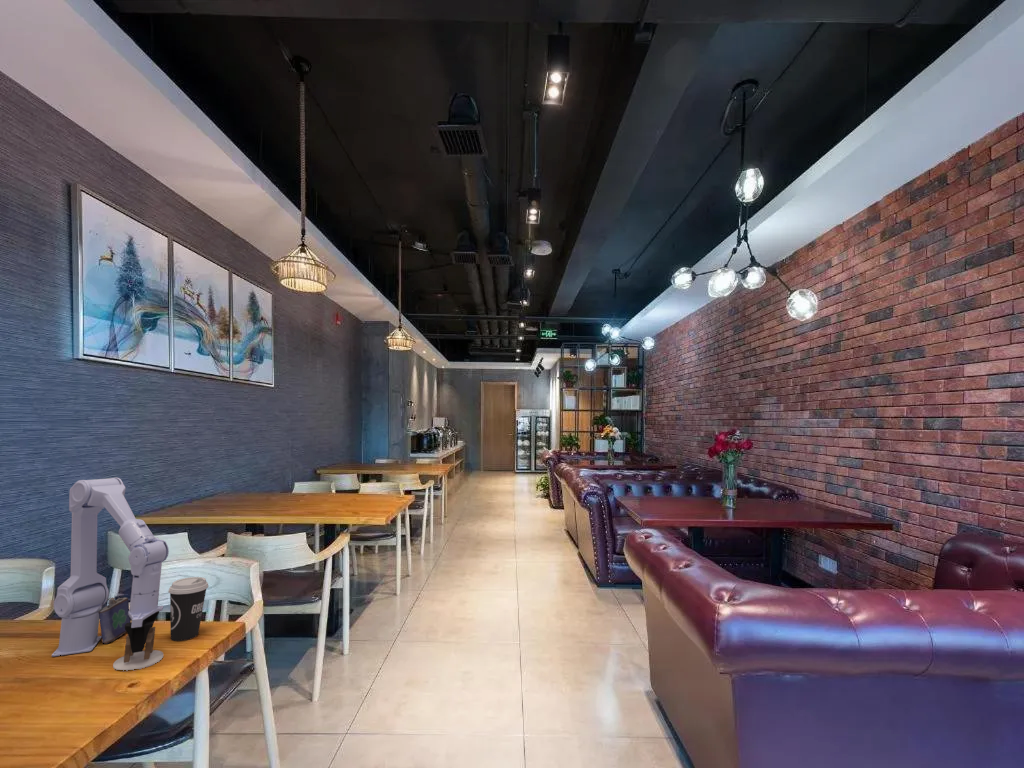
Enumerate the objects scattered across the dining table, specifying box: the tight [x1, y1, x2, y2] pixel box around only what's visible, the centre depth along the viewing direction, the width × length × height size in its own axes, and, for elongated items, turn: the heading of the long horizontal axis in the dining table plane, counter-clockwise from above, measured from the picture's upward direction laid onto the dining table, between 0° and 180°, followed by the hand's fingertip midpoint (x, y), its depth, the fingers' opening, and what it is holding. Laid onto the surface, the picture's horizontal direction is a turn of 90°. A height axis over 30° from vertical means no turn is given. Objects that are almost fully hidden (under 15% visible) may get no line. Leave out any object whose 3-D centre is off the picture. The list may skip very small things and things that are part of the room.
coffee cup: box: [167, 576, 209, 642], centre depth 137 cm, size 10×10×15 cm
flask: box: [98, 596, 132, 645], centre depth 135 cm, size 9×3×11 cm, turn 2°
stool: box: [123, 626, 156, 663], centre depth 122 cm, size 5×5×6 cm
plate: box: [112, 649, 164, 672], centre depth 121 cm, size 10×10×1 cm
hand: (140, 647), depth 122 cm, fingers closed on stool, 5 cm apart
